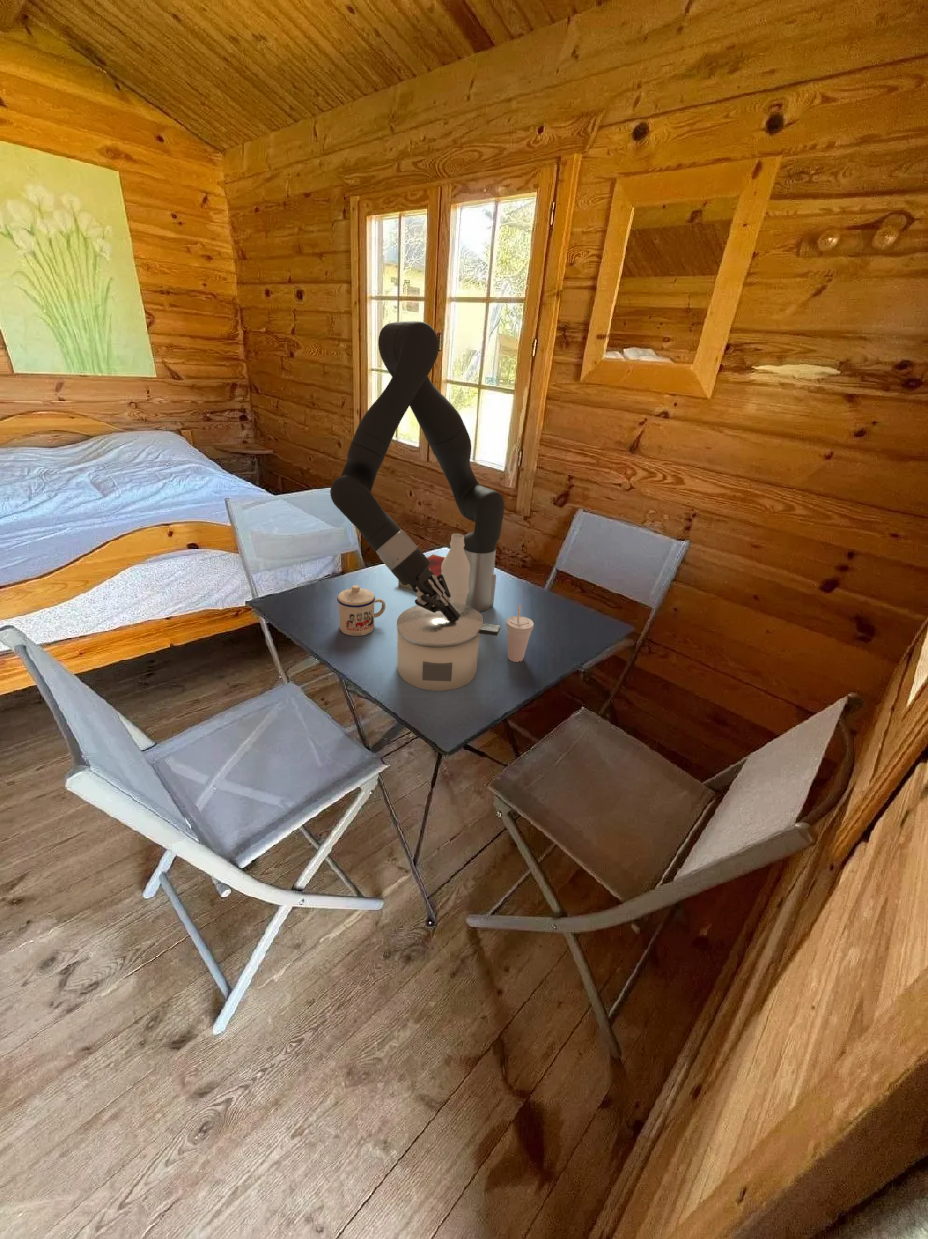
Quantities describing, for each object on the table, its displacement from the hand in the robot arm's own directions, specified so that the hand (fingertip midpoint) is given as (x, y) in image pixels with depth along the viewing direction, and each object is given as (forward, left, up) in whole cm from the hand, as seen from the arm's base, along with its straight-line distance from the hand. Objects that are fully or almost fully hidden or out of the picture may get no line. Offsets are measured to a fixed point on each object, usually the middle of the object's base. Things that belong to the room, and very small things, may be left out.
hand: (456, 619), depth 110 cm
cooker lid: (+1, -1, -2) cm, 3 cm away
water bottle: (-9, -18, -13) cm, 24 cm away
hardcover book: (-18, -47, -14) cm, 52 cm away
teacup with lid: (+12, -27, -13) cm, 32 cm away
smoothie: (-16, +1, -13) cm, 21 cm away
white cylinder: (+3, -3, -13) cm, 14 cm away
